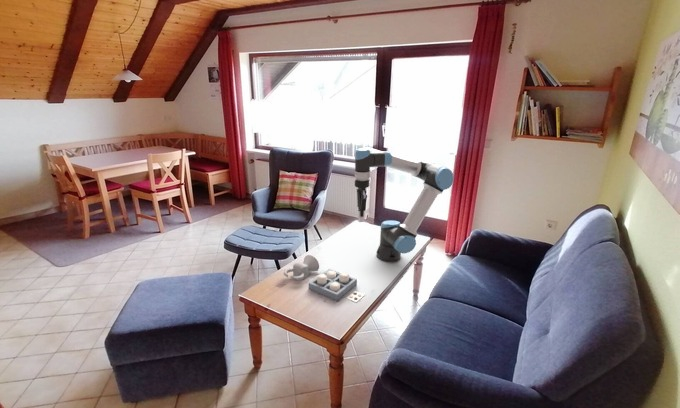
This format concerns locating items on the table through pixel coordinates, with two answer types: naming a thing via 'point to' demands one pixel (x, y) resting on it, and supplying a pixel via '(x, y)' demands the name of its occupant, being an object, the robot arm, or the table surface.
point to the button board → (329, 293)
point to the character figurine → (303, 268)
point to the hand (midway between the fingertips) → (361, 221)
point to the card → (355, 296)
